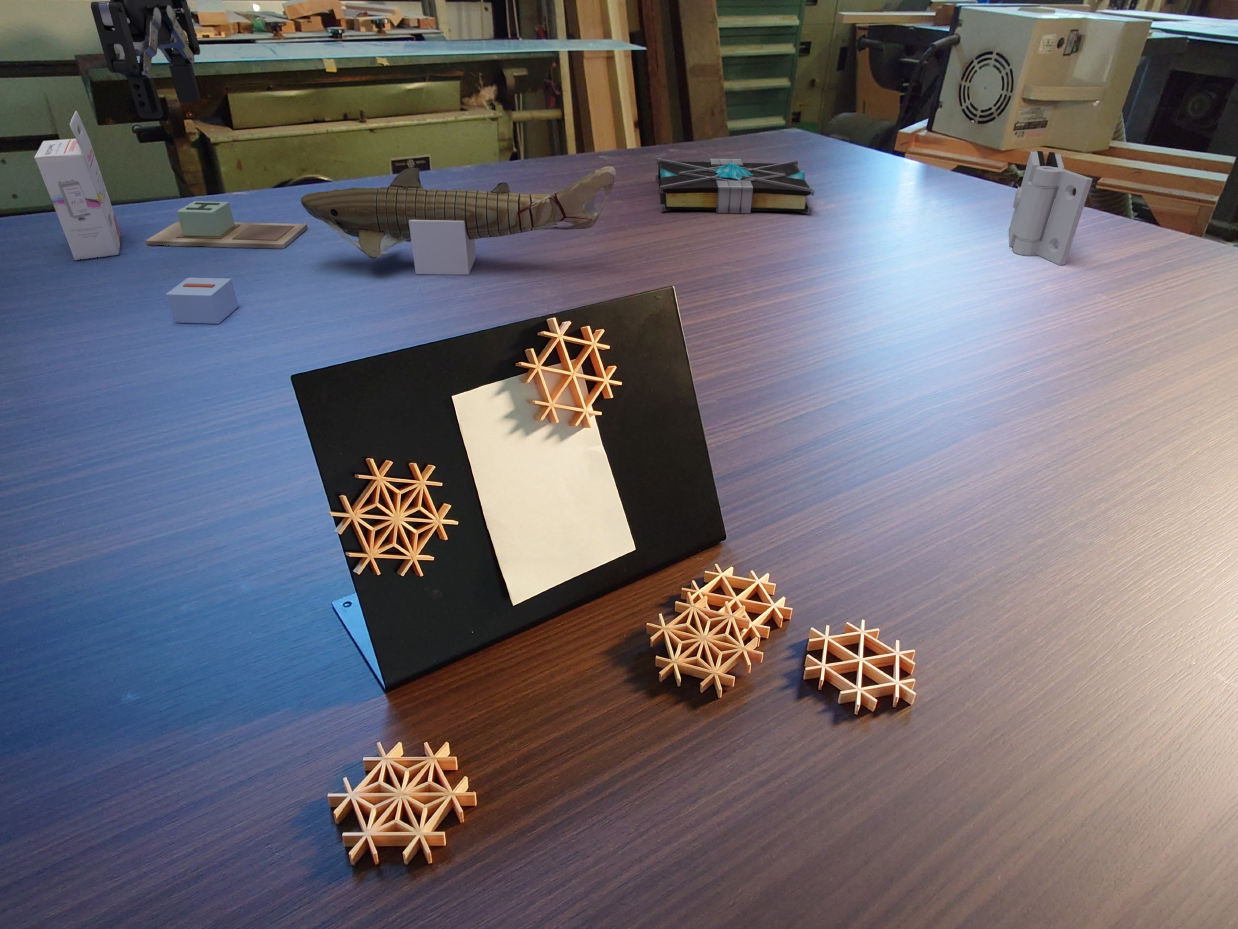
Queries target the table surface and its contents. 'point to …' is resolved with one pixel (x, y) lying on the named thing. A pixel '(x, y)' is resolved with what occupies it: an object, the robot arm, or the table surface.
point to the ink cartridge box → (79, 194)
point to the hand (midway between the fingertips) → (171, 109)
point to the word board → (234, 236)
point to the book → (732, 186)
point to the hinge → (1047, 208)
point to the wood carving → (451, 216)
